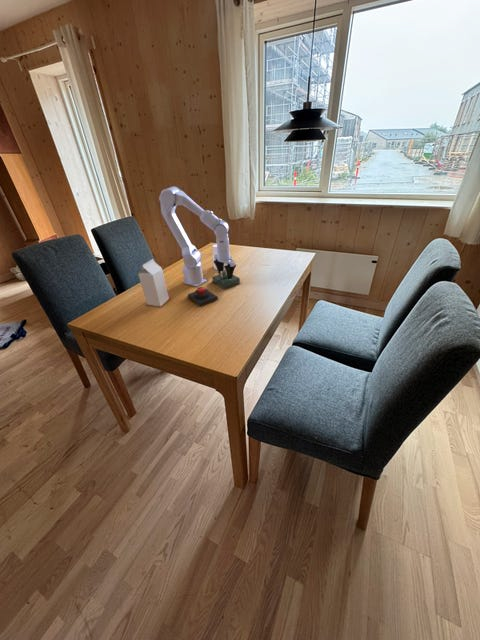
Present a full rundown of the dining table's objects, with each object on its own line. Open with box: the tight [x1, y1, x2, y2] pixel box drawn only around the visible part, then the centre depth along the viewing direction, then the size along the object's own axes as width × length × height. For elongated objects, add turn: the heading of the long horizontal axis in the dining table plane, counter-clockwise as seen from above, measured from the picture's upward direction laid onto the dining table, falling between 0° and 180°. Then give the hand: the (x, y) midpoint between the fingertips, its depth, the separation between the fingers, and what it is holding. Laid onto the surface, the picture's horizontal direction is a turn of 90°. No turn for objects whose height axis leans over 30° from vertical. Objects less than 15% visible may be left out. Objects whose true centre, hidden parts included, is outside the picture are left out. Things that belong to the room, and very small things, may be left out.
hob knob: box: [220, 270, 227, 279], centre depth 129 cm, size 5×2×4 cm, turn 127°
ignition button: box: [196, 286, 206, 294], centre depth 117 cm, size 4×4×2 cm
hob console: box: [211, 273, 241, 290], centre depth 131 cm, size 11×9×3 cm
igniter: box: [187, 288, 218, 307], centre depth 118 cm, size 11×9×4 cm
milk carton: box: [137, 258, 170, 307], centre depth 114 cm, size 7×7×19 cm
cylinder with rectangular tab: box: [211, 244, 228, 271], centre depth 146 cm, size 9×9×12 cm
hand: (225, 276), depth 130 cm, fingers open, 7 cm apart
